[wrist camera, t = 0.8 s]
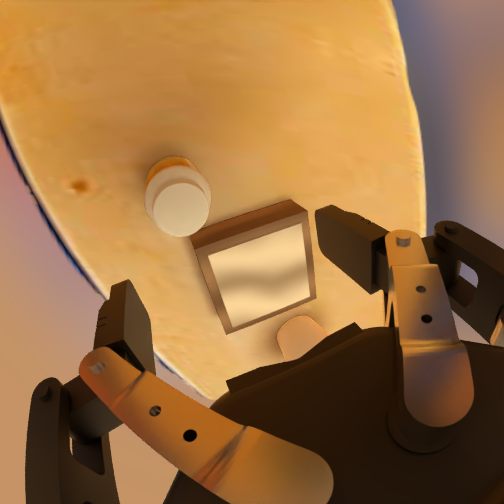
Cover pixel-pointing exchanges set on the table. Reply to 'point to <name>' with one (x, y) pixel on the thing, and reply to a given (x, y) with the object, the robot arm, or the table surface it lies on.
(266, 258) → the base slab
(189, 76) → the table surface
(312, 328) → the foam cup
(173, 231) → the supplement bottle
